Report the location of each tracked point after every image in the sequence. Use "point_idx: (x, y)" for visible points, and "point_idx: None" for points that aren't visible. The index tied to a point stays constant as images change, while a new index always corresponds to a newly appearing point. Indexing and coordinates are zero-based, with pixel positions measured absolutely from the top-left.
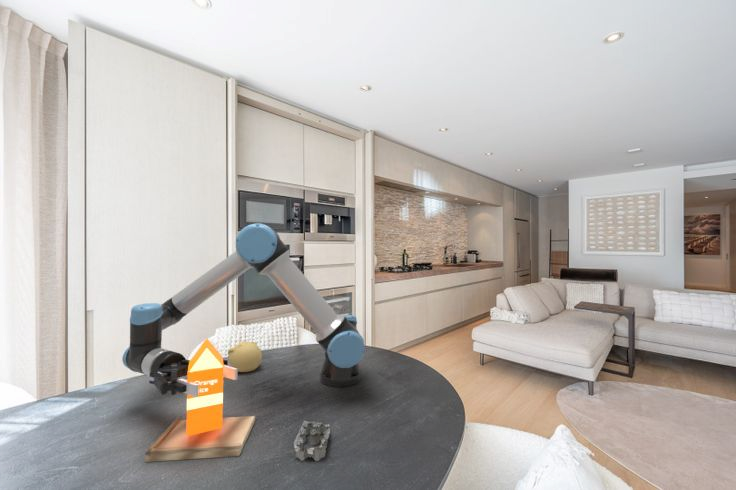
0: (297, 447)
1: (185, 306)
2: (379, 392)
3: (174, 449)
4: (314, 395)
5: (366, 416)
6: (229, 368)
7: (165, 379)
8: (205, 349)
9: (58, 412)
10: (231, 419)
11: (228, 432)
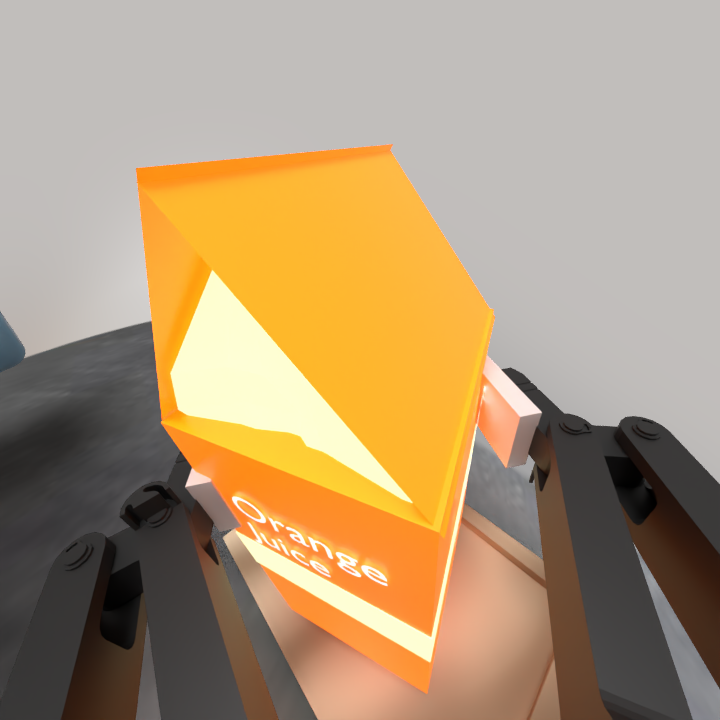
0: None
1: None
2: (23, 418)
3: (496, 528)
4: (12, 535)
5: (148, 383)
6: None
7: (667, 487)
8: (383, 183)
9: None
10: (274, 591)
11: None
